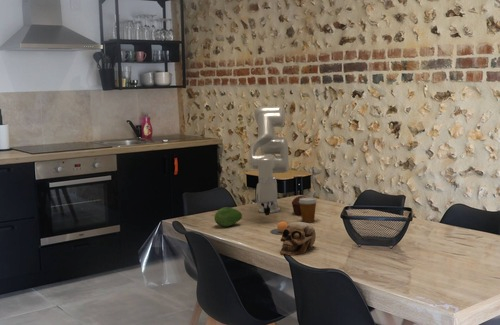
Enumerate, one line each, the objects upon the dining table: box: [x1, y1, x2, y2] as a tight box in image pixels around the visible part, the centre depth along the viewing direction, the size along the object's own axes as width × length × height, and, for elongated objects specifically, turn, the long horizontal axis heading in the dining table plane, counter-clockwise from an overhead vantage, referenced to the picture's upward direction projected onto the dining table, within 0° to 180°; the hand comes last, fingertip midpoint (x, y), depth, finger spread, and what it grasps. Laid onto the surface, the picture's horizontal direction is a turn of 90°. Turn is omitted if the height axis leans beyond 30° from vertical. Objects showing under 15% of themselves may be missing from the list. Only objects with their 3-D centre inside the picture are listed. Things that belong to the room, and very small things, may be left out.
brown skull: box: [279, 221, 317, 256], centre depth 279 cm, size 16×17×13 cm
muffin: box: [291, 195, 306, 217], centre depth 351 cm, size 12×11×10 cm
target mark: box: [269, 228, 283, 236], centre depth 314 cm, size 12×12×1 cm
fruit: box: [214, 206, 243, 228], centre depth 330 cm, size 15×10×10 cm, turn 115°
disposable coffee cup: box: [299, 196, 318, 223], centre depth 334 cm, size 10×10×12 cm
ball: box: [276, 221, 289, 233], centre depth 311 cm, size 6×6×6 cm
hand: (267, 214), depth 334 cm, fingers closed
